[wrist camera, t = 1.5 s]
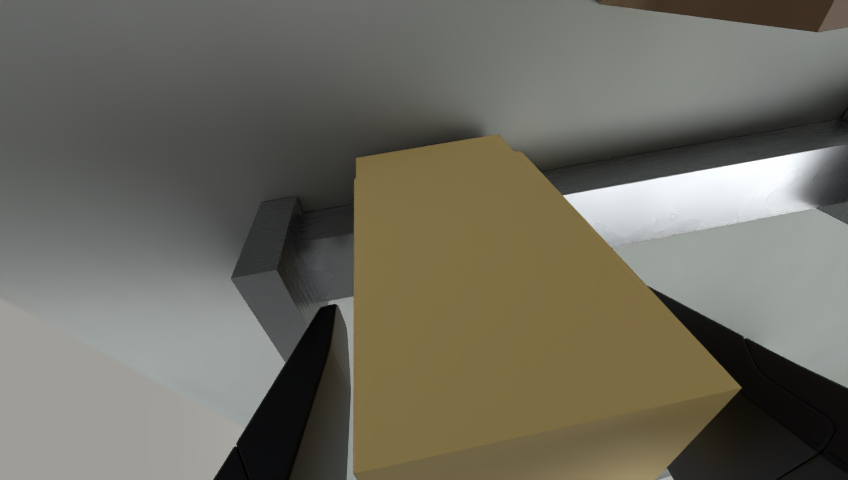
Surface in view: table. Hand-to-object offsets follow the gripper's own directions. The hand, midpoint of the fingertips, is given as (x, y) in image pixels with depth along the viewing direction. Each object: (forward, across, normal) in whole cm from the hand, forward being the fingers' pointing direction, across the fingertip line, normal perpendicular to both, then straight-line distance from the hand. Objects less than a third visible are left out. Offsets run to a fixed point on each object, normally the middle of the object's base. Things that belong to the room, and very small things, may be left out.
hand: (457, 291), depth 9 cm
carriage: (+3, 0, 0) cm, 3 cm away
